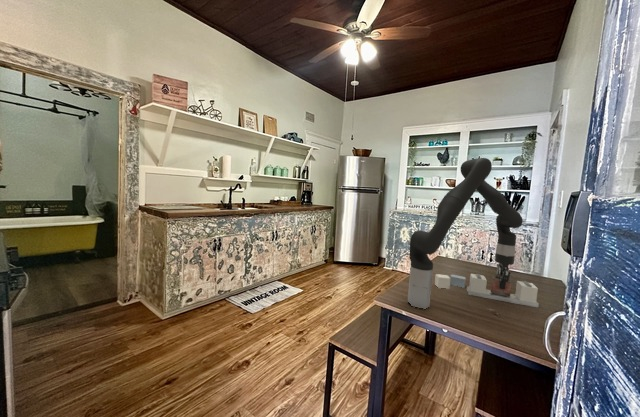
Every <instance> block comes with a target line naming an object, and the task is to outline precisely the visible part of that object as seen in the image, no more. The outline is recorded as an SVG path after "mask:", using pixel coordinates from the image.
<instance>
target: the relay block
mask: <svg viewBox="0 0 640 417" xmlns="http://www.w3.org/2000/svg"><path fill="white" fill-rule="evenodd" d="M434 277H435V278H434V286H435V285H436V286H437V287H438V288H437V287H436V286H435V287H436V288H437V289H441V288H446V289H445V290H450V289H451V287H450V286H451V285H450V279H451V276H449V275H448V274H439V273H436V274H435V276H434Z"/></svg>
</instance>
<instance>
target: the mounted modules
mask: <svg viewBox="0 0 640 417" xmlns="http://www.w3.org/2000/svg"><path fill="white" fill-rule="evenodd" d="M487 281H488V279H487V278H486V277H485V275H482V274H480V273H470V276H469V284H468V285H469V287H470V289H471V291H472V292H478V293H484V294H485V292H486V289H487V283H488V282H487ZM515 287H516V288H515V293H514V294H515V295H516V296H517V297H518V298H519V299H520V300H522V301H528V302H533V303H536V301H537V298H538V291H539V288H538V287H537V286H536V285H535V284H534V283H532V282H528V281H526V280H523V281H521V280H520V281H519V280H517V281H516V286H515Z"/></svg>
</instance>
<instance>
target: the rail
mask: <svg viewBox="0 0 640 417" xmlns="http://www.w3.org/2000/svg"><path fill="white" fill-rule="evenodd" d="M466 292H467V294H468V296H469V295H470V296H474V297H479V298H484V299H485V298H486V299H491V300H496V301H499V302H506V303H512V304H515V305H516V304H517V305H522V306H527V307H531V308H539V304H540V303H539V302H538V301H537V300H536V303H533V302H528V301H522V300H520V299H519V298H518V297H517V296H516V295H515V293H510V296H505V295H500V294H495V293H492V292H491V289H488V288H486V292H485V294H484V293H478V292H472V291H471V289H470V287H469V286H468V285H467V286H466Z"/></svg>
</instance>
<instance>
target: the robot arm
mask: <svg viewBox="0 0 640 417" xmlns="http://www.w3.org/2000/svg"><path fill="white" fill-rule="evenodd" d="M492 167H493V166H492V162H491V160H490V159H489V158H487V157H477V158H473V159H467V160H466V161H464V162H462V164H461V166H460V173H461V175H462V177H463V178H464V179H463V180H462V181H461V182H459V183H458V184H457V185H456V186H454V187H453V188H451V189H450V190H448V192H446V194H445V195H444V196H443V198H442V199H441V201H440V202H439V204H438V206H437V210H436V221H435V223H434V225H433V226H432V228H431V229H430V230H429V231H424V230H415V231H414V232H413V233H412V234H411V236H410V240H409V255H408V256H409V261H410V268H409V270H410V271H409V281H408V290H407V291H408V293H407V303H408V302H409V303H410V304H411V306H415V307H420V308H424V309H426V308H427V307H429V308H430V305H431V293H432V284H433V283H432V282H433V272H434V263H433V261H432V260H431V259H430V258H429V256H428V255H432V254H435V253H437V251H438V250H439V248H440V247H441V245H442V243H443V241H444V239H445V238H446V236H447V233H448V232H449V230H450V229H451V227H452V225H453V224H454V222H455V220H457V218H458V216H460V214H461V212H462V211H463V209H465V206H466V205H467V203H468V201H469V200H470V199H471V198H472V196H473V195H474V193H475V192H476V191H477V193H479V194H480V195H481V197H482V198H483V199H484V200H485V201H486V203H487V205H488V206H489V208H490V209H491V211H492V212H493V213H494V214H496V215H497V216H496V219H495V223H496V230H497V234H498V236H497V242H496V243H497V244H496V247H495V248H496V249H495V256H494V261H495V262H496V273H497V274H499V276H500V286H499V288H500V289H505V285H506V282H508V280H510V278H509V276H511V271H510V268H509V266H512V265H514V263H515V256H516V241H517V234H515V233H514V232H512V231H511V229H518V228H520V227H522V225H523V222H524V220H523V217H522V215H521V214H520V213H519V211H517V210H516V209H515V208H514V207H513V206H512V205H511V204H509V202H508V200H507V199H506V198H505V196H504V195H503V194H502V193H501V191H499V190H498V189H496V188H495V187H493V186H492V185H491V184H489V183H488V182H487V181H486V179H487V178H488V177H489V175H490V173H491V172H492ZM501 274H503V275H501ZM499 276H498V277H499ZM504 278H505V279H504ZM411 306H410V307H411ZM415 307H414V308H415ZM424 309H423V310H424ZM427 309H428V308H427ZM427 309H426V310H427Z"/></svg>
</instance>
